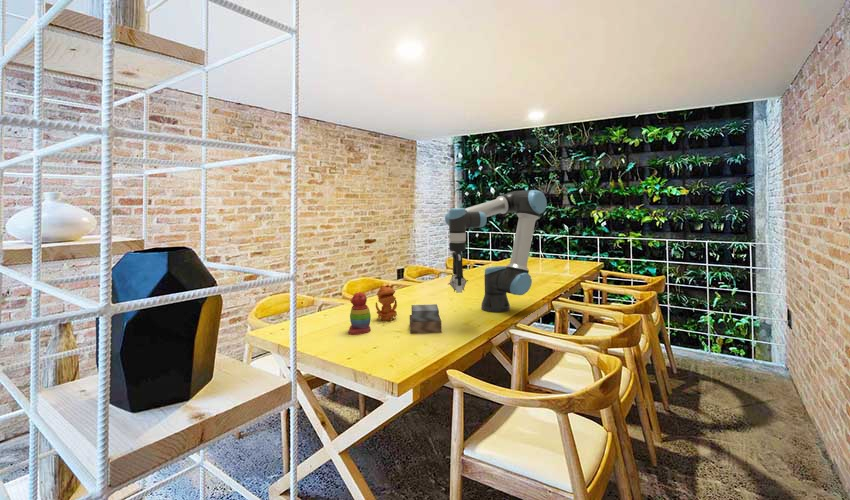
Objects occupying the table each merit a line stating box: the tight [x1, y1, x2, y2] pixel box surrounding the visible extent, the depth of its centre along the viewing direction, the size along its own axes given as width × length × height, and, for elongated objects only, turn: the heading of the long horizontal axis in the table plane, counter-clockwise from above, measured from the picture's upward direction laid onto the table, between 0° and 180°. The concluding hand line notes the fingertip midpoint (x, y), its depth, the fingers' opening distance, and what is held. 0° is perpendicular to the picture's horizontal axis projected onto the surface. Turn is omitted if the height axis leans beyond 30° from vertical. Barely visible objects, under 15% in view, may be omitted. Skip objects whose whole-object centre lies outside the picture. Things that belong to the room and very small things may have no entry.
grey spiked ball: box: [447, 273, 469, 293], centre depth 201 cm, size 9×8×10 cm
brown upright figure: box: [375, 284, 398, 322], centre depth 217 cm, size 11×11×18 cm
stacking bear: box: [347, 291, 372, 336], centre depth 199 cm, size 11×10×18 cm
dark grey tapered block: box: [409, 303, 442, 334], centre depth 201 cm, size 14×13×10 cm
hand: (457, 290), depth 201 cm, fingers closed on grey spiked ball, 9 cm apart
